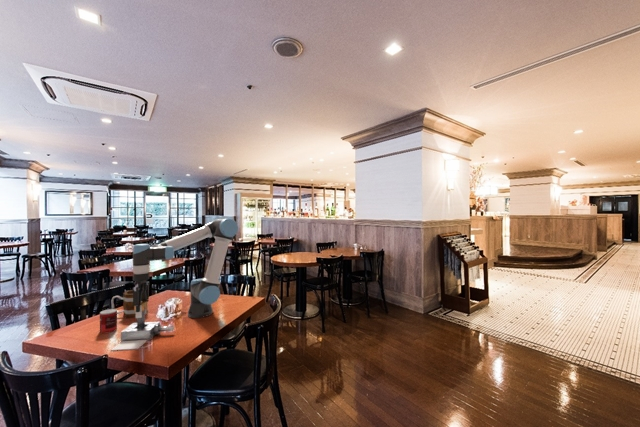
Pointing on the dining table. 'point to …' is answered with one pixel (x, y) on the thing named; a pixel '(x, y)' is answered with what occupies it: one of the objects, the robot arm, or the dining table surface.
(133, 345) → the rest mat
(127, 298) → the mug
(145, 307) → the key
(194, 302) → the robot arm
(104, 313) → the canned food
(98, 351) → the dining table surface
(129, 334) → the block
